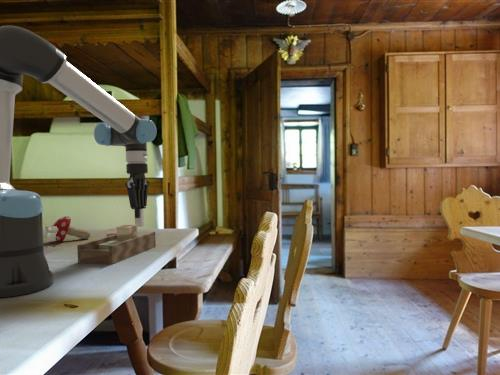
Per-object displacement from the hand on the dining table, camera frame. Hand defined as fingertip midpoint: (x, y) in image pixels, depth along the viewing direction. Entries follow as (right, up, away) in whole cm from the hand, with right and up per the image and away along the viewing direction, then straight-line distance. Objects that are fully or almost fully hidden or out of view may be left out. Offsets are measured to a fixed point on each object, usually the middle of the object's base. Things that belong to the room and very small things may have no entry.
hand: (139, 226), depth 138 cm
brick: (-14, -8, +17) cm, 23 cm away
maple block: (-2, -4, -8) cm, 9 cm away
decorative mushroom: (-34, -8, +17) cm, 39 cm away
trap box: (-3, -8, -12) cm, 15 cm away
